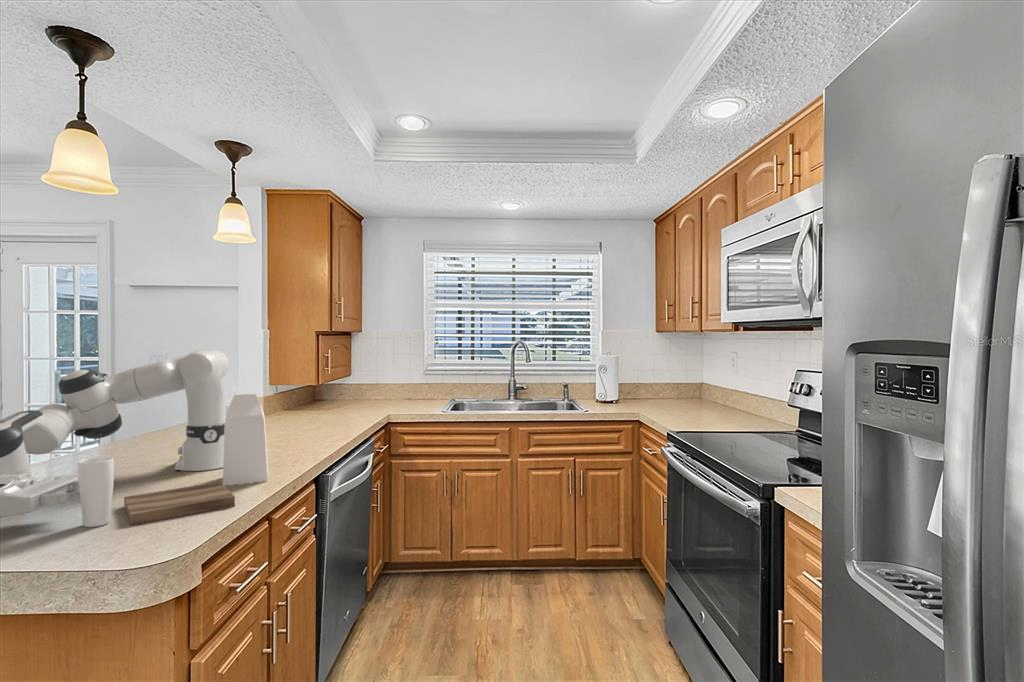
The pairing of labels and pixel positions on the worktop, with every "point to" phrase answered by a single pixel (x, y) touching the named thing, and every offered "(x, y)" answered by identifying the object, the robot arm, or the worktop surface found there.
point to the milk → (245, 441)
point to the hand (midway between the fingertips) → (82, 491)
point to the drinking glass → (96, 490)
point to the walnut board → (177, 502)
